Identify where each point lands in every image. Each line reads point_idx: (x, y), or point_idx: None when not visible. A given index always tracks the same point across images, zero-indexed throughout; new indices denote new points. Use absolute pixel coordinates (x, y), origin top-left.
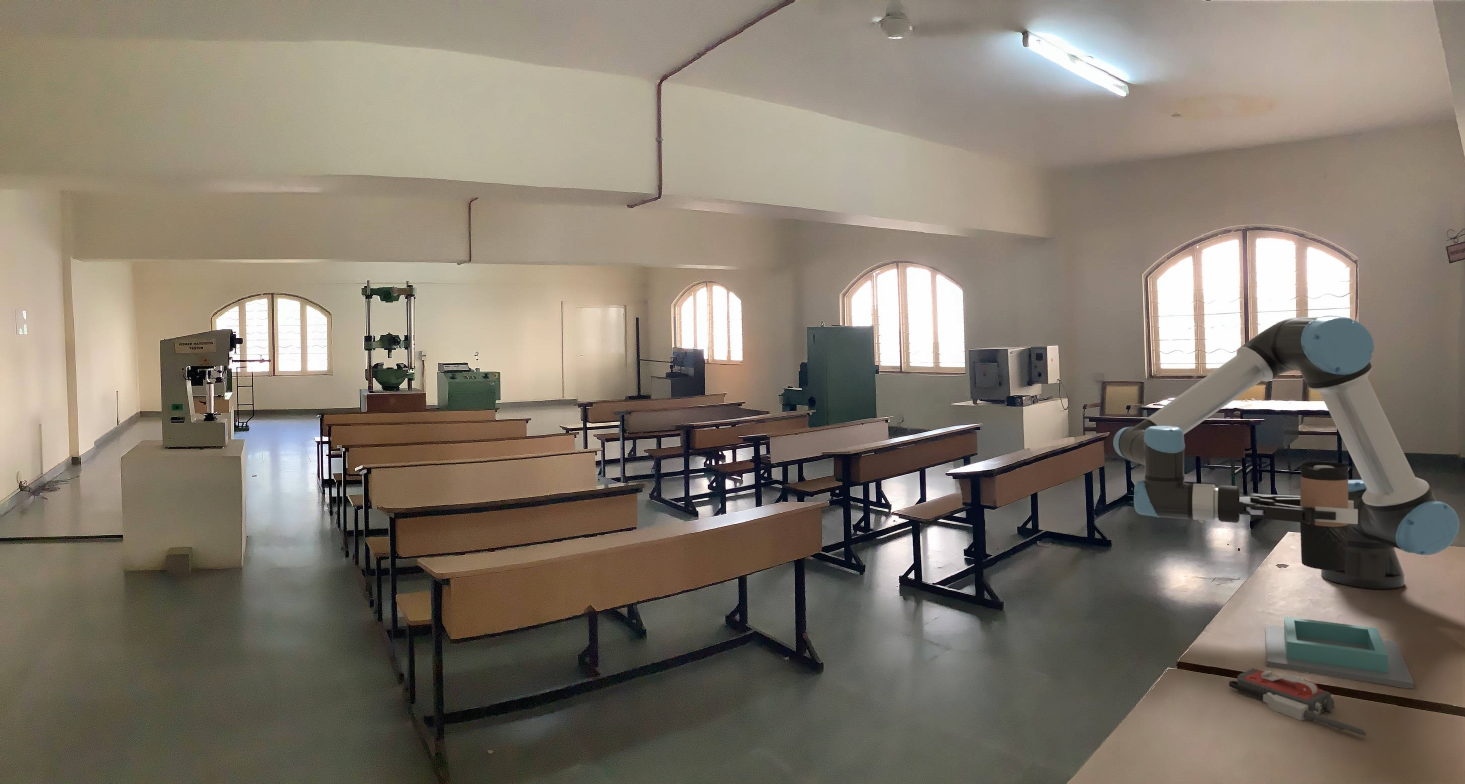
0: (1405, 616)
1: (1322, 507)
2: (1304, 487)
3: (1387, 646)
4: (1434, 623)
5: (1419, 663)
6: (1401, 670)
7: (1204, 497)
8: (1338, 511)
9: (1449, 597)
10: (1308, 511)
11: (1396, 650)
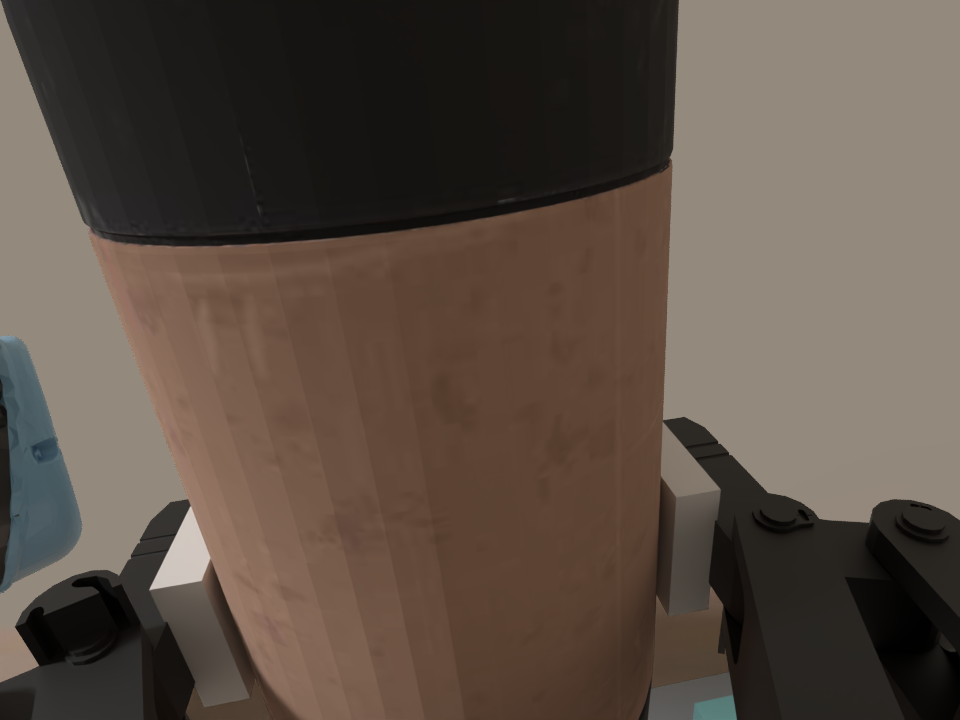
0: (258, 715)
1: (674, 453)
2: (600, 377)
3: (688, 711)
4: None
5: (714, 644)
6: None
7: None
8: None
9: None
10: (948, 522)
11: (704, 686)
